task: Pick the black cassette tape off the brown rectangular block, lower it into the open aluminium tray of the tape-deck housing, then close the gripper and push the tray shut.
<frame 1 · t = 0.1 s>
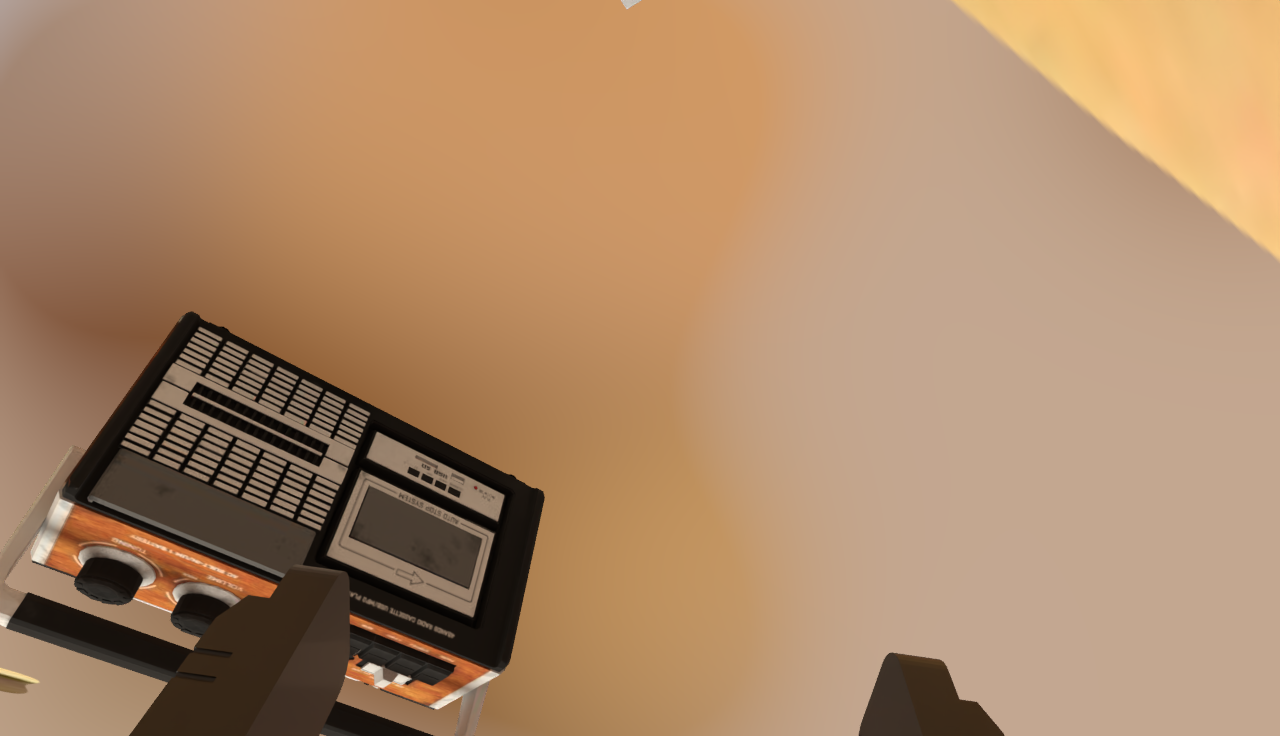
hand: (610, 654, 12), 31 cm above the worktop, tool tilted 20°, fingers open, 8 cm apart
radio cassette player: (359, 429, 61), on the worktop
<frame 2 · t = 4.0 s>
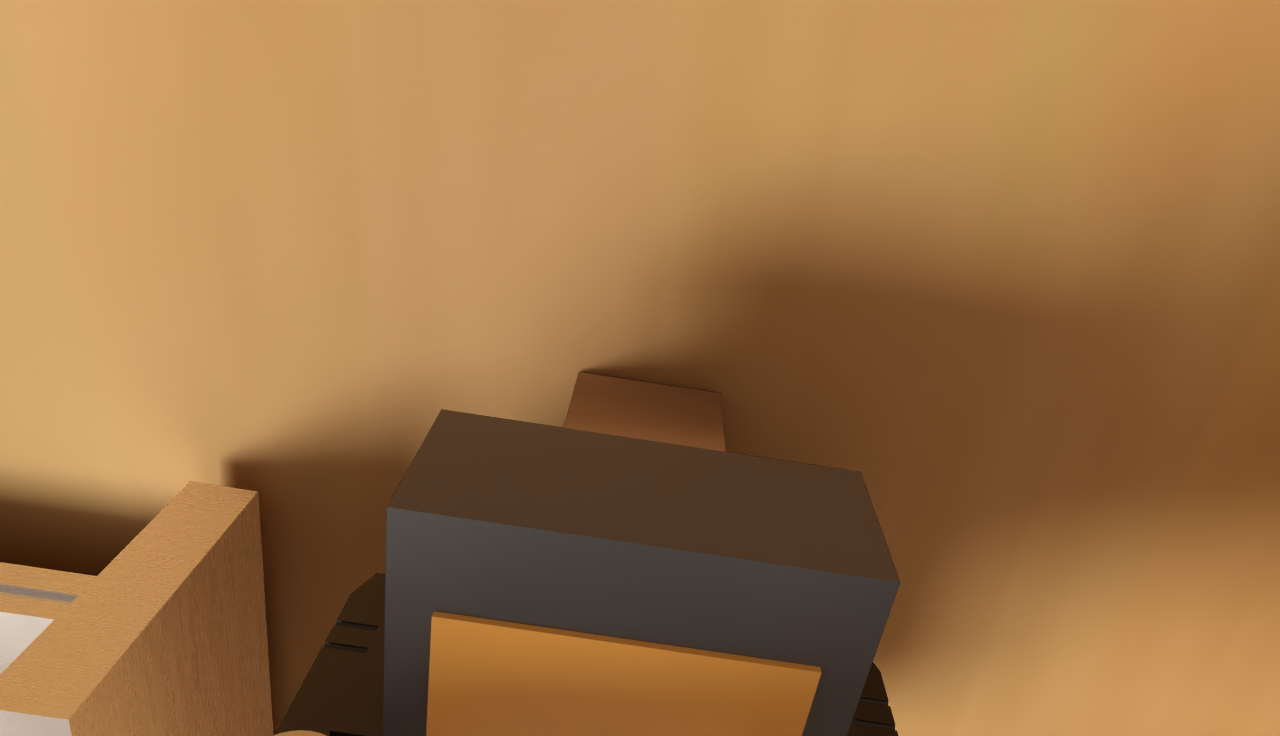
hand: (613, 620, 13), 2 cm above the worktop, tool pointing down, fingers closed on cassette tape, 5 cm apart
brown rectangular block: (625, 528, 15), on the worktop
cassette tape: (607, 699, 12), point 4 cm above the worktop, touching gripper, brown rectangular block
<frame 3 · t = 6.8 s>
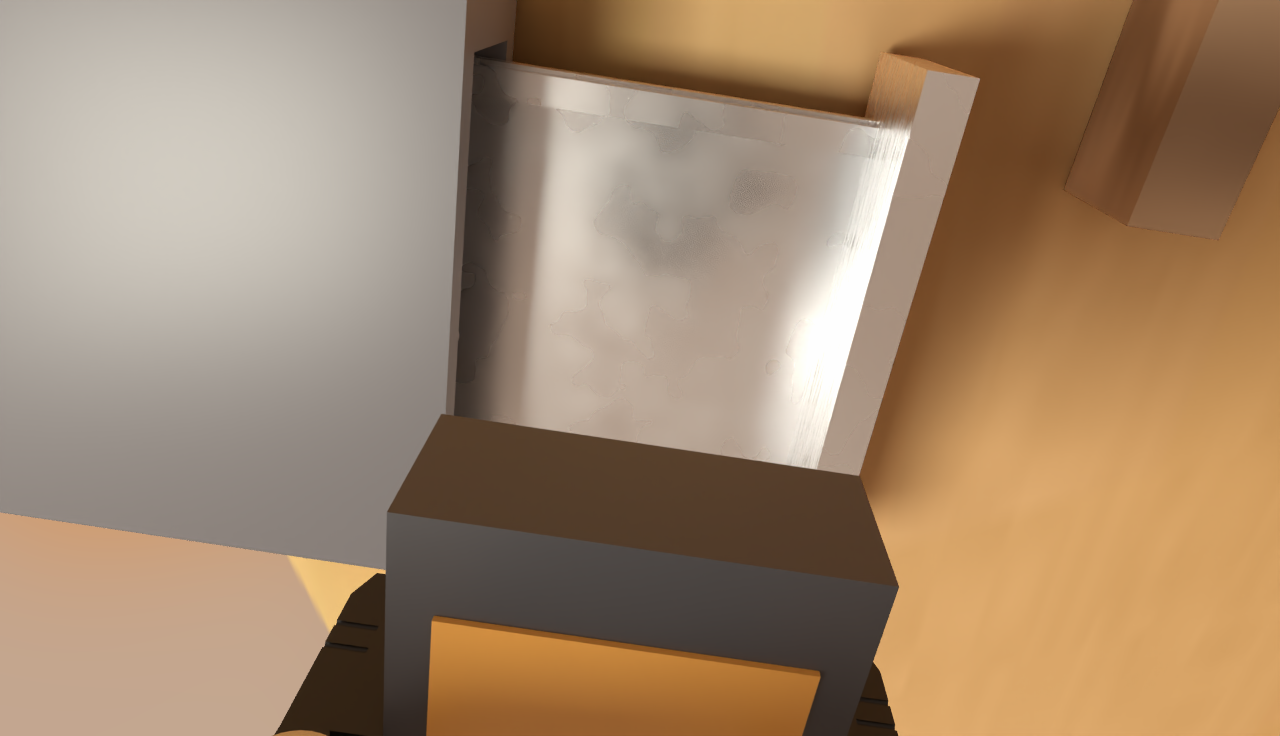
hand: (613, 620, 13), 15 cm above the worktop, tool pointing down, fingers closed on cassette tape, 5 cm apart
brown rectangular block: (1142, 92, 24), on the worktop
cassette tape: (606, 702, 12), point 17 cm above the worktop, touching gripper
deck housing: (250, 223, 27), on the worktop
tray: (598, 312, 24), point 3 cm above the worktop, slide at 10.0 cm
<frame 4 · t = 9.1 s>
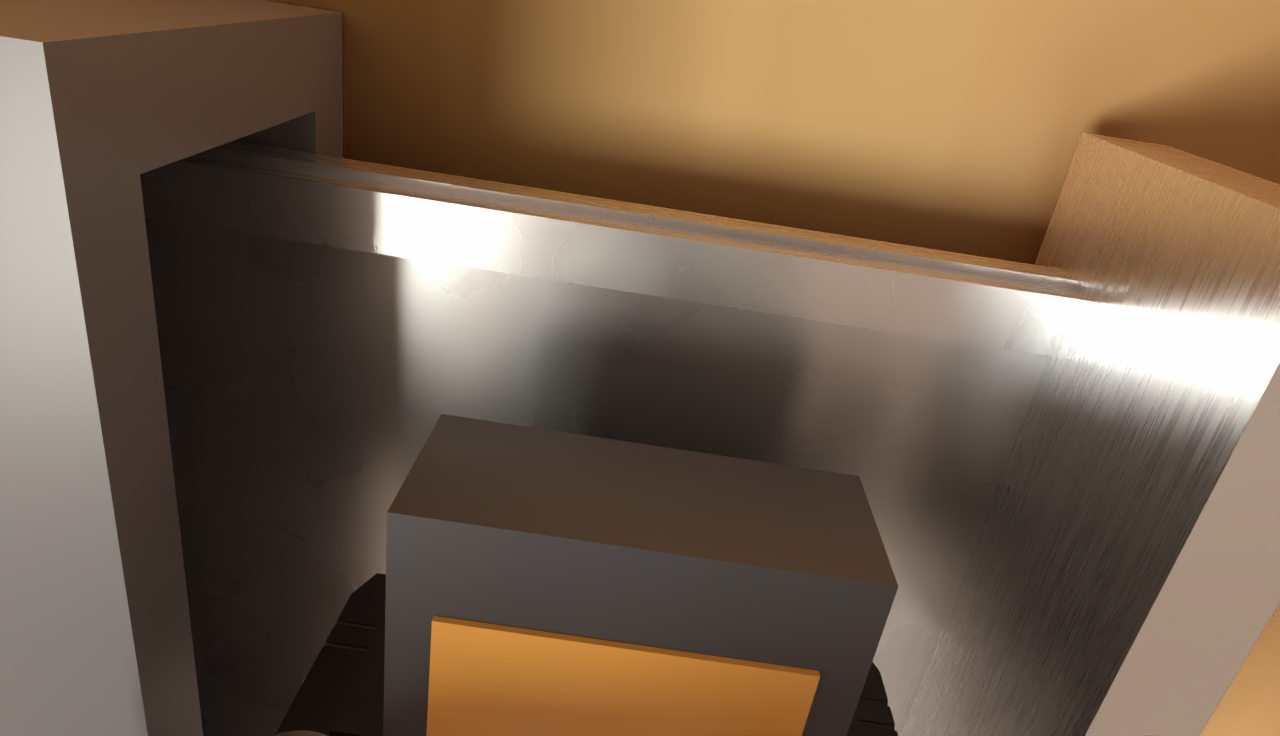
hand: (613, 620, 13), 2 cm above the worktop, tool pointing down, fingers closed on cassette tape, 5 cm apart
cassette tape: (606, 702, 12), point 4 cm above the worktop, touching gripper
tray: (513, 638, 12), point 3 cm above the worktop, slide at 10.0 cm
when the fingers open (2 cm above the worktop, at t = 9.7 s): cassette tape drops 2 cm, resting on tray.
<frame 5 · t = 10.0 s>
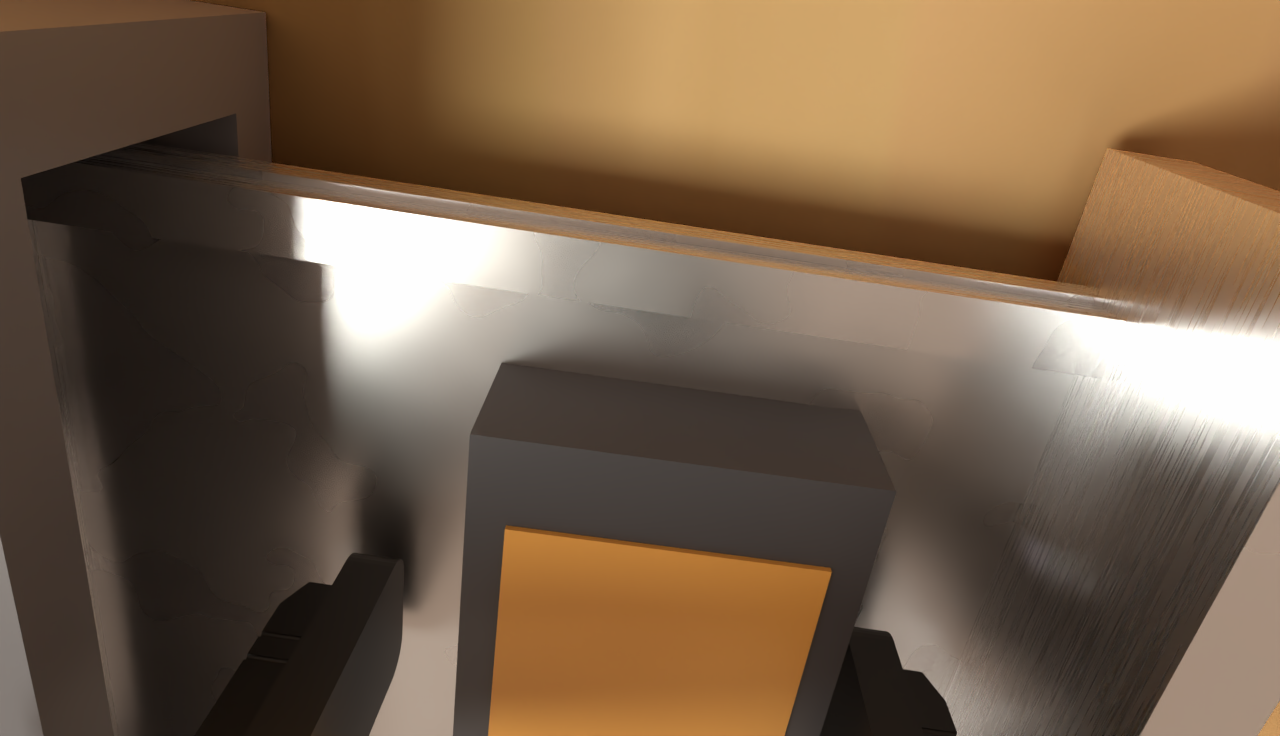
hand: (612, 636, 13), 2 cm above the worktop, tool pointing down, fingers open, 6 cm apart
cassette tape: (641, 622, 13), point 2 cm above the worktop, touching tray
tray: (531, 664, 12), point 3 cm above the worktop, slide at 11.2 cm, touching cassette tape, gripper
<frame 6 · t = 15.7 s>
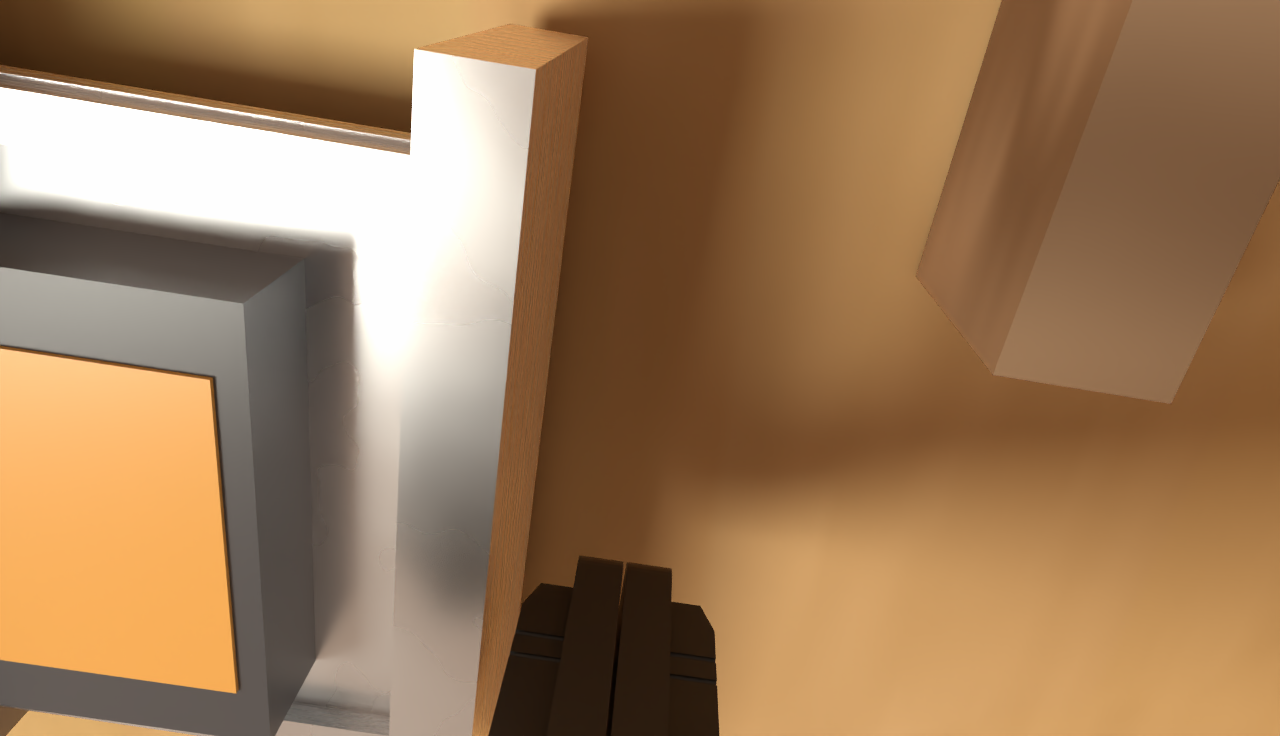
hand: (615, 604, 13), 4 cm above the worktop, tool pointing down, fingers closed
brown rectangular block: (1044, 111, 13), on the worktop
cassette tape: (169, 462, 15), point 2 cm above the worktop, touching tray
tray: (32, 485, 14), point 3 cm above the worktop, slide at 9.2 cm, touching cassette tape, gripper
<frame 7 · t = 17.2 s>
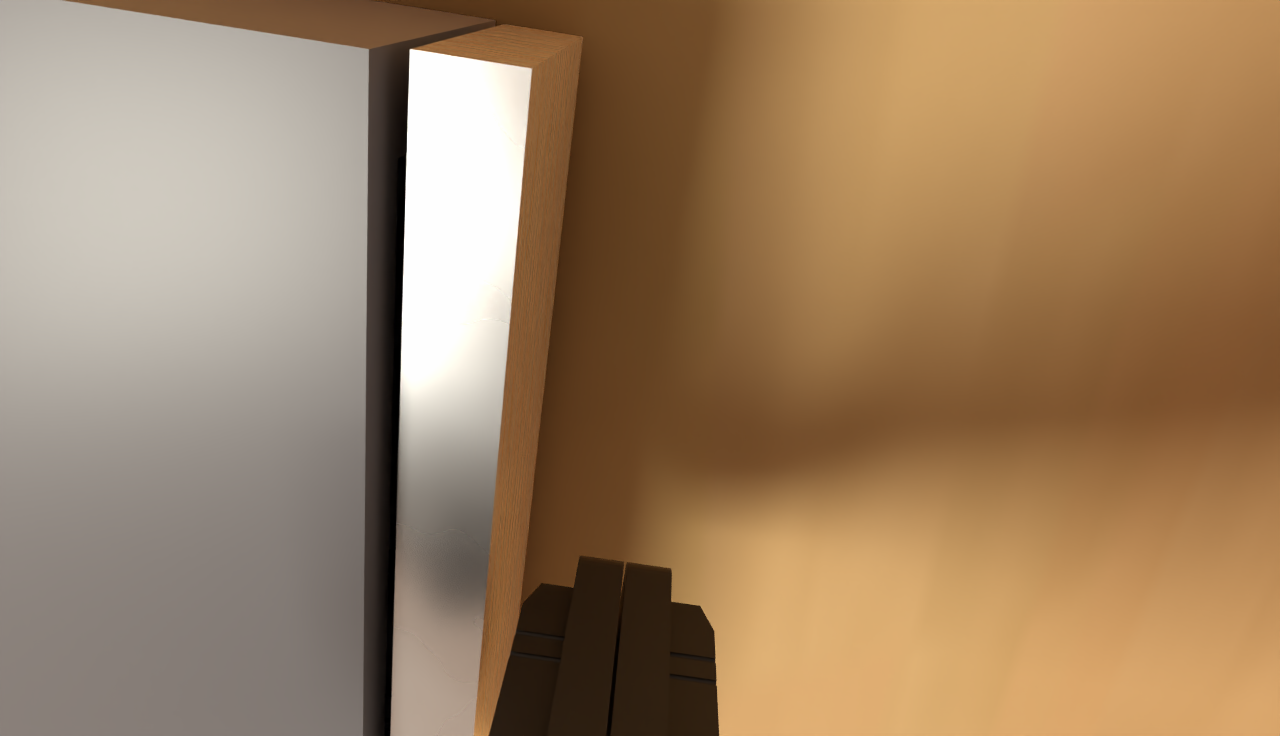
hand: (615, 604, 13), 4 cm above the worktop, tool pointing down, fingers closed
deck housing: (57, 393, 16), on the worktop
tray: (29, 490, 14), point 3 cm above the worktop, slide at -0.1 cm, touching cassette tape, gripper
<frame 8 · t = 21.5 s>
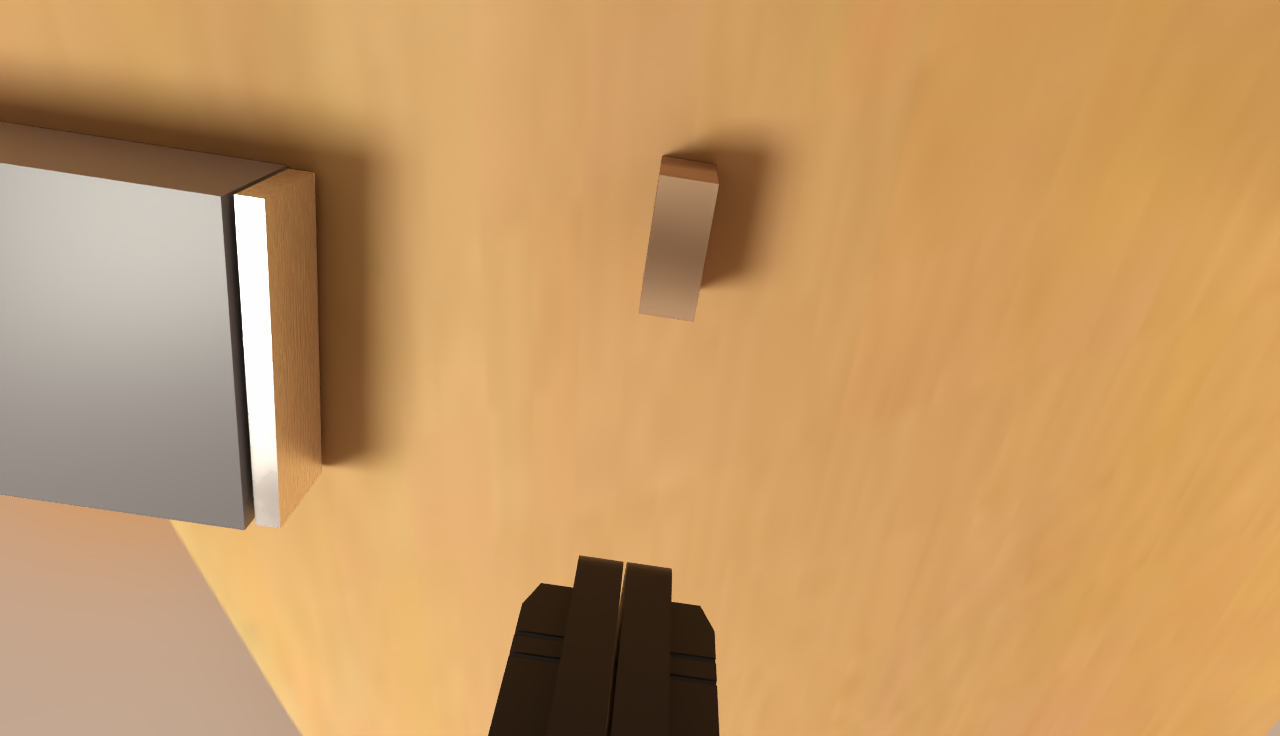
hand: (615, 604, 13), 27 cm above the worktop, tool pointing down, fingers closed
brown rectangular block: (678, 225, 38), on the worktop
deck housing: (131, 302, 41), on the worktop
tray: (126, 330, 39), point 3 cm above the worktop, slide at 0.0 cm, touching cassette tape
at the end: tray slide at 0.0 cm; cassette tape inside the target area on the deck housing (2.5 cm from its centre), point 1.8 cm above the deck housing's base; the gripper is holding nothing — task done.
